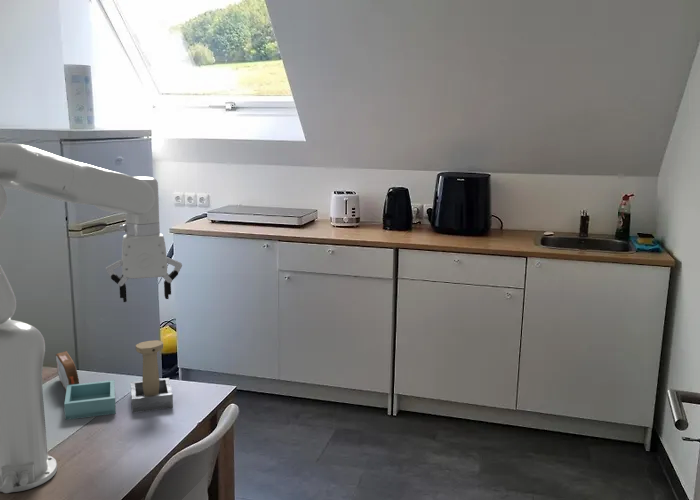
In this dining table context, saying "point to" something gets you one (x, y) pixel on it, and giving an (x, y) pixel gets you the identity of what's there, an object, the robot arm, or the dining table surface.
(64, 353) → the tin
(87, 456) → the dining table surface
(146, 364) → the handle
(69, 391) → the tray
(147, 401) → the collar
